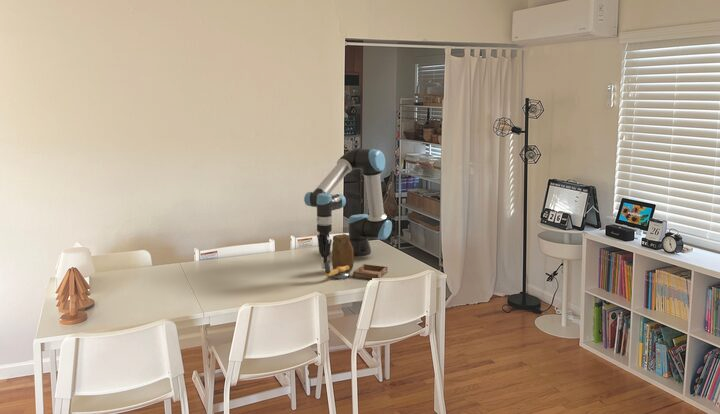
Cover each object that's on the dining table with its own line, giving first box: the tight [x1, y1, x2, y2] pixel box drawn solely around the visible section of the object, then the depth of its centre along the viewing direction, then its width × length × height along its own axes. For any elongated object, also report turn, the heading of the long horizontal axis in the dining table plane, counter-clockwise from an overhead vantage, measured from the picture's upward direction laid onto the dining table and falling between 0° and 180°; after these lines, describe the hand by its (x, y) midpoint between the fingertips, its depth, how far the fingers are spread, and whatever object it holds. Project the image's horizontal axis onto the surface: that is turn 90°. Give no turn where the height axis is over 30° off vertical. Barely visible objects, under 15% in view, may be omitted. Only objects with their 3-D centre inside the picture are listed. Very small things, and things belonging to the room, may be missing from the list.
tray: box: [352, 263, 388, 280], centre depth 330 cm, size 15×14×3 cm
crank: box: [324, 260, 350, 277], centre depth 324 cm, size 17×5×8 cm, turn 140°
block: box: [331, 233, 354, 272], centre depth 336 cm, size 11×8×20 cm
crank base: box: [330, 271, 351, 280], centre depth 327 cm, size 10×10×3 cm
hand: (324, 268), depth 321 cm, fingers closed
